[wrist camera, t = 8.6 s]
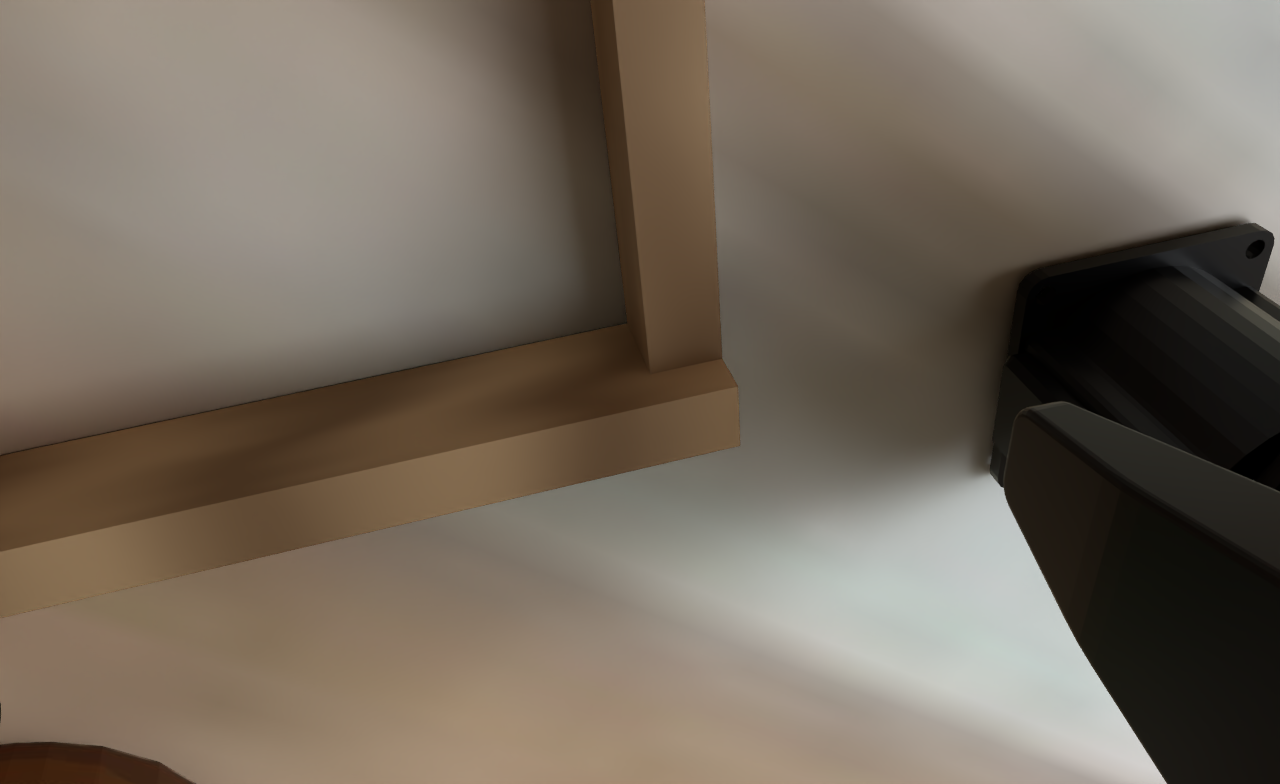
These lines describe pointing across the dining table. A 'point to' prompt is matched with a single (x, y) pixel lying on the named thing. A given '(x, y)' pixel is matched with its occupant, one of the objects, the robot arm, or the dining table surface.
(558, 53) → the dining table surface
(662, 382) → the bay
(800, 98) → the dining table surface
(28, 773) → the food container
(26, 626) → the dining table surface
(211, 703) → the dining table surface
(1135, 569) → the robot arm
